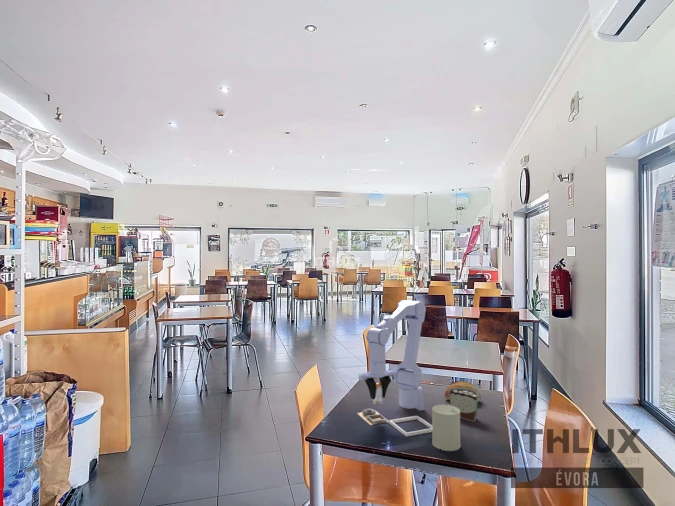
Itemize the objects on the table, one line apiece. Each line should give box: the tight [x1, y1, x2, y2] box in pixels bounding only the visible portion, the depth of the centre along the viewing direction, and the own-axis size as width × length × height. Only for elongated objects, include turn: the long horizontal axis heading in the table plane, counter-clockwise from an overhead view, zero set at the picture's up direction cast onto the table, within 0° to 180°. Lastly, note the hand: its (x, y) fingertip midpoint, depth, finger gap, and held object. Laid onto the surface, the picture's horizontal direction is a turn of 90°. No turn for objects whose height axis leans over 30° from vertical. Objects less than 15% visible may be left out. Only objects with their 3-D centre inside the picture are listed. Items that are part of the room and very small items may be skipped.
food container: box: [448, 388, 481, 423], centre depth 158 cm, size 12×6×10 cm, turn 47°
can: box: [431, 404, 462, 452], centre depth 134 cm, size 9×9×12 cm
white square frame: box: [388, 415, 432, 437], centre depth 144 cm, size 12×12×2 cm
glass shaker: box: [372, 381, 384, 406], centre depth 150 cm, size 4×4×7 cm
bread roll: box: [444, 380, 482, 401], centre depth 175 cm, size 10×15×8 cm, turn 81°
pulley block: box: [356, 408, 390, 426], centre depth 153 cm, size 8×12×3 cm, turn 21°
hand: (377, 397), depth 150 cm, fingers closed on glass shaker, 4 cm apart
